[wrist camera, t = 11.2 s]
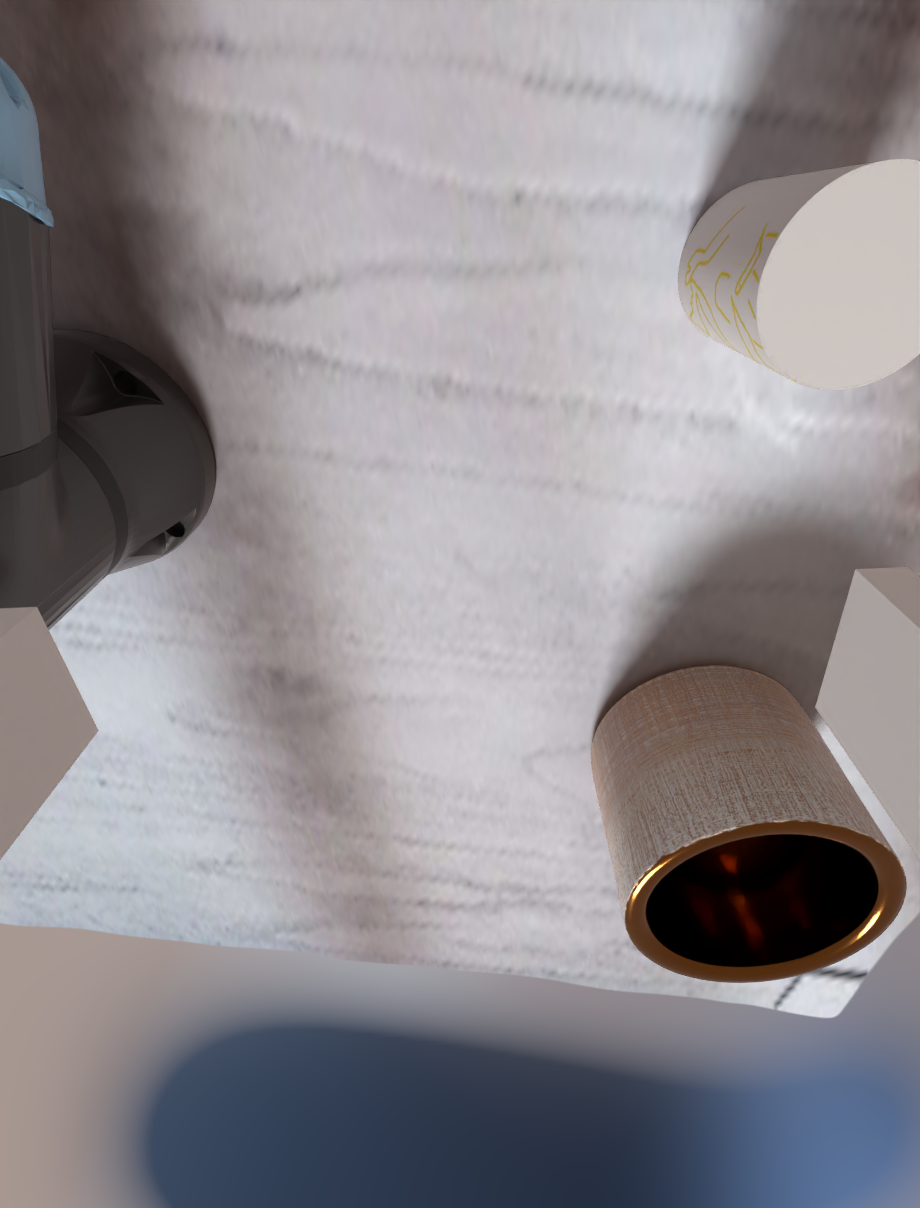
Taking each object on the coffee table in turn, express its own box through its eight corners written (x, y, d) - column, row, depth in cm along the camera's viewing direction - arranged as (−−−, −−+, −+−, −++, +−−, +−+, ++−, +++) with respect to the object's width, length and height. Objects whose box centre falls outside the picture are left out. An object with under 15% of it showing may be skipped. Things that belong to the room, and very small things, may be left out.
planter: (846, 729, 52) (970, 902, 39) (685, 836, 60) (742, 1012, 47) (702, 618, 47) (788, 775, 34) (545, 751, 55) (565, 921, 41)
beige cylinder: (662, 223, 34) (738, 222, 24) (818, 148, 32) (975, 113, 22) (695, 366, 38) (774, 420, 28) (837, 308, 36) (978, 341, 26)
